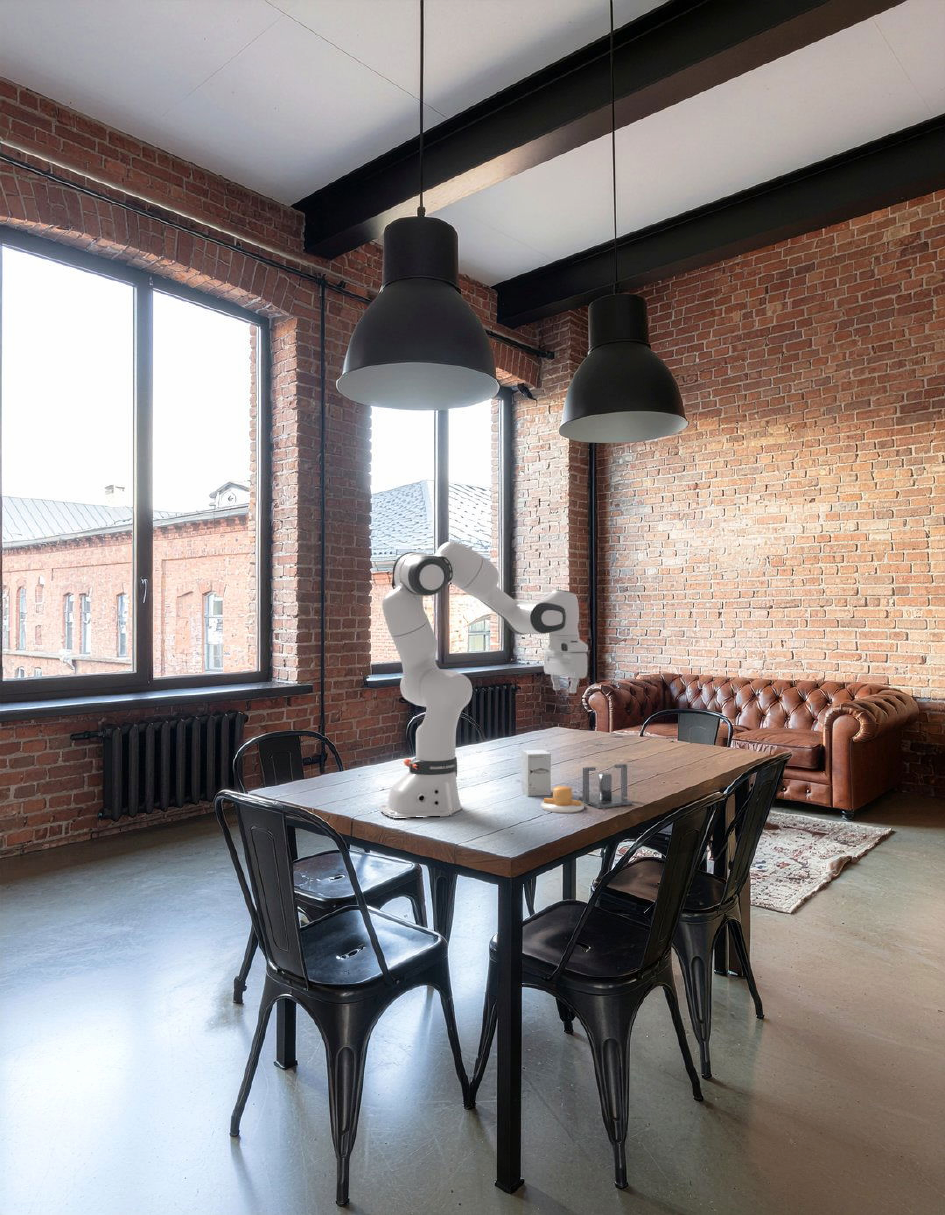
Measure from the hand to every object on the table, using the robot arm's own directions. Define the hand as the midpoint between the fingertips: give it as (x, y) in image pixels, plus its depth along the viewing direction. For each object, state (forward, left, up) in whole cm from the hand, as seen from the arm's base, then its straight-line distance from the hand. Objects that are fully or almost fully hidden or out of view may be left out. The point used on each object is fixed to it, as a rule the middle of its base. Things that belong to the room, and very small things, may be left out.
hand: (564, 691), depth 232 cm
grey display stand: (+7, -11, -31) cm, 34 cm away
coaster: (-7, -11, -31) cm, 34 cm away
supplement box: (-6, +7, -31) cm, 33 cm away
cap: (-7, -11, -30) cm, 33 cm away
